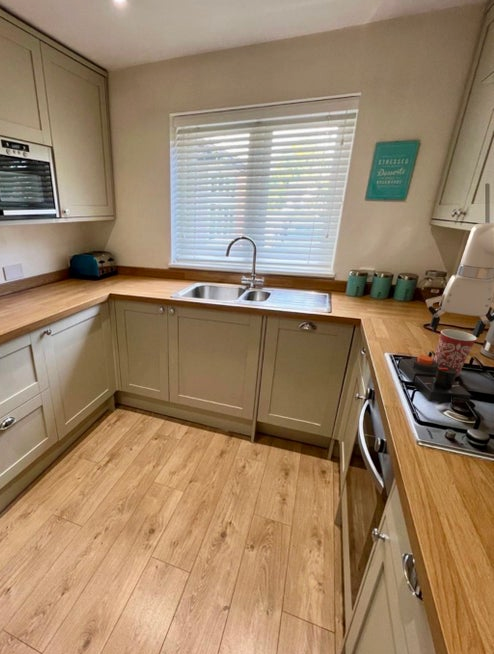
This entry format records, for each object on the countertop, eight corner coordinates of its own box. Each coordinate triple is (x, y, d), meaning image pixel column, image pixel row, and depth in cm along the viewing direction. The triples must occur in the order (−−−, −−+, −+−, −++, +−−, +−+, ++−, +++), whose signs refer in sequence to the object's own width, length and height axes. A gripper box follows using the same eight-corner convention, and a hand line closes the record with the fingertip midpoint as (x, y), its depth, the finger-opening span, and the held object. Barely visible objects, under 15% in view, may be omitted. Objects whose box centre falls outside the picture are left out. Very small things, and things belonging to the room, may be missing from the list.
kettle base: (427, 369, 110) (431, 355, 108) (444, 384, 101) (449, 370, 99) (398, 367, 111) (402, 353, 110) (412, 382, 102) (417, 367, 100)
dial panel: (448, 387, 100) (452, 378, 98) (467, 404, 91) (471, 394, 90) (413, 384, 101) (415, 375, 100) (428, 400, 93) (431, 391, 92)
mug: (466, 381, 103) (481, 342, 98) (431, 375, 106) (444, 336, 101) (455, 364, 113) (468, 328, 108) (424, 359, 117) (435, 324, 112)
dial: (446, 381, 97) (452, 365, 95) (455, 389, 93) (461, 373, 91) (429, 380, 97) (435, 364, 95) (438, 388, 93) (444, 371, 91)
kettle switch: (428, 360, 106) (429, 355, 105) (434, 366, 102) (436, 361, 102) (414, 359, 107) (416, 354, 106) (420, 365, 103) (422, 360, 102)
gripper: (513, 273, 86) (489, 333, 93) (433, 267, 94) (416, 323, 100) (524, 279, 80) (497, 343, 87) (438, 271, 87) (419, 331, 94)
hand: (454, 332), depth 94 cm, fingers open, 9 cm apart
